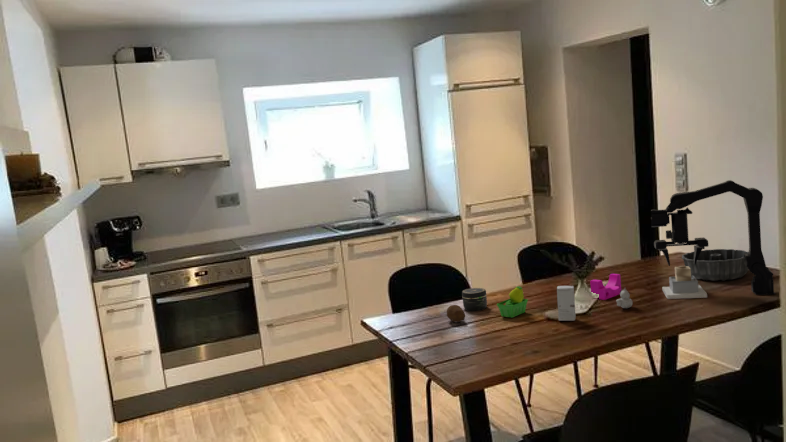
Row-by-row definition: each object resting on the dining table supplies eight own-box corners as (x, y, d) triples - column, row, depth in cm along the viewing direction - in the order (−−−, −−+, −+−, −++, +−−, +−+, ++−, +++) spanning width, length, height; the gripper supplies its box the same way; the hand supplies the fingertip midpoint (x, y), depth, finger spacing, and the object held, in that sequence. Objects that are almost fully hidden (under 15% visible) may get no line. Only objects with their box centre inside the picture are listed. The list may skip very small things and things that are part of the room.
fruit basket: (513, 309, 250) (511, 282, 249) (532, 311, 244) (530, 283, 243) (496, 316, 242) (494, 288, 241) (515, 319, 236) (513, 290, 235)
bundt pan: (677, 283, 264) (675, 260, 263) (688, 270, 285) (687, 248, 284) (748, 285, 248) (747, 260, 247) (755, 271, 270) (754, 248, 269)
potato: (454, 325, 237) (452, 309, 237) (442, 320, 246) (441, 304, 246) (469, 321, 240) (468, 306, 239) (457, 316, 249) (455, 301, 248)
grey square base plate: (700, 288, 250) (699, 274, 250) (707, 297, 237) (706, 281, 236) (662, 290, 254) (661, 275, 254) (667, 298, 241) (666, 283, 240)
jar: (492, 306, 259) (490, 288, 258) (478, 312, 252) (476, 294, 251) (472, 304, 266) (471, 286, 265) (458, 310, 258) (456, 292, 258)
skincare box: (558, 321, 228) (555, 288, 226) (559, 317, 232) (556, 285, 231) (576, 320, 226) (573, 288, 225) (576, 317, 230) (573, 285, 229)
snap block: (689, 278, 247) (688, 264, 246) (691, 281, 242) (690, 267, 241) (675, 279, 248) (674, 265, 248) (677, 281, 243) (676, 267, 243)
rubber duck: (636, 308, 233) (635, 287, 233) (621, 311, 232) (620, 290, 231) (627, 305, 239) (625, 284, 238) (612, 308, 237) (611, 287, 236)
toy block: (604, 300, 250) (603, 282, 249) (591, 298, 255) (590, 280, 254) (626, 292, 258) (625, 274, 257) (613, 291, 263) (612, 273, 262)
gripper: (701, 221, 248) (704, 260, 250) (651, 224, 253) (653, 262, 255) (707, 225, 237) (709, 265, 239) (654, 228, 243) (657, 267, 244)
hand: (681, 265), depth 245 cm, fingers open, 9 cm apart
